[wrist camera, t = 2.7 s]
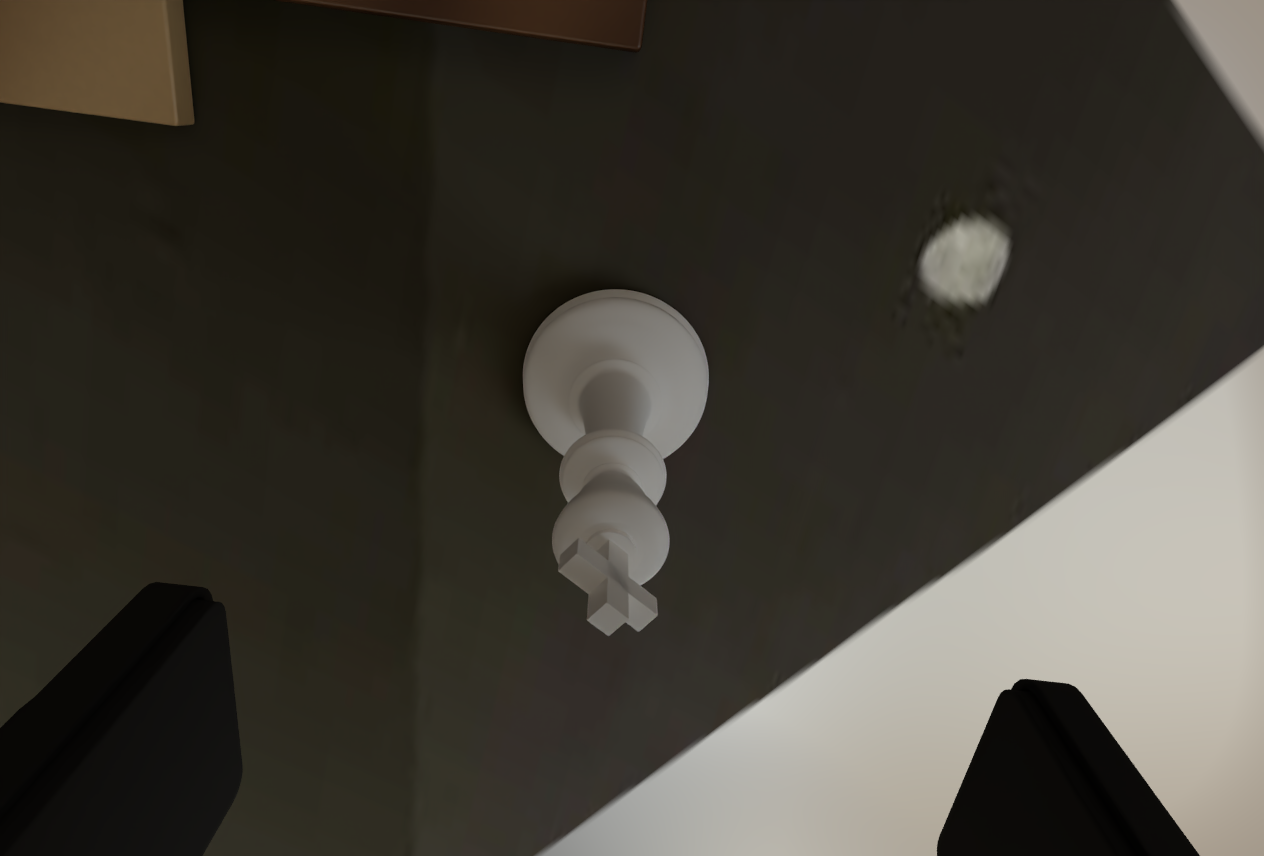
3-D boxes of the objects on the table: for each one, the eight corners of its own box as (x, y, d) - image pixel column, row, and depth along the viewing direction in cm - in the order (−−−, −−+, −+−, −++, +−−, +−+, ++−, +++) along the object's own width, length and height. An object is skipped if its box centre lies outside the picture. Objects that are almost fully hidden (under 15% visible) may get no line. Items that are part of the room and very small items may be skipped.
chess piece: (610, 247, 19) (595, 399, 10) (746, 376, 20) (845, 612, 11) (485, 384, 20) (370, 626, 11) (620, 494, 22) (616, 790, 13)
